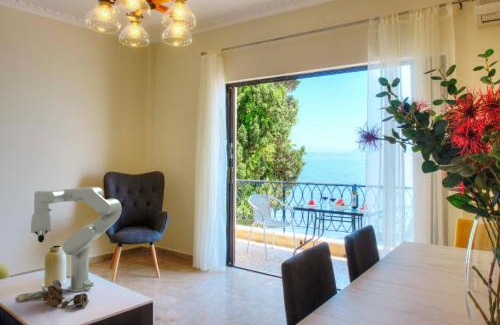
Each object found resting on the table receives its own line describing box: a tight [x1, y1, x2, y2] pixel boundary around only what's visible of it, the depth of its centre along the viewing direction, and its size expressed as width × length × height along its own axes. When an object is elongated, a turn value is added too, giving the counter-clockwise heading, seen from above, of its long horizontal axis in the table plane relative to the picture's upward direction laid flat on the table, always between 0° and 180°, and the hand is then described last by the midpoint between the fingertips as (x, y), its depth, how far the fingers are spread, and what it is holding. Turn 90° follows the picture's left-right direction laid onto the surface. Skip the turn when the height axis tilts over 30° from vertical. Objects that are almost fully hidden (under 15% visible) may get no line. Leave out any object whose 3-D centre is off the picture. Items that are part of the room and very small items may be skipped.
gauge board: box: [17, 279, 62, 303], centre depth 199 cm, size 20×10×6 cm, turn 127°
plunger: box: [40, 283, 46, 293], centre depth 198 cm, size 1×8×4 cm, turn 37°
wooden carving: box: [42, 284, 66, 307], centre depth 186 cm, size 16×5×10 cm, turn 66°
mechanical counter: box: [61, 292, 90, 309], centre depth 184 cm, size 7×13×10 cm
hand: (41, 241), depth 213 cm, fingers closed
